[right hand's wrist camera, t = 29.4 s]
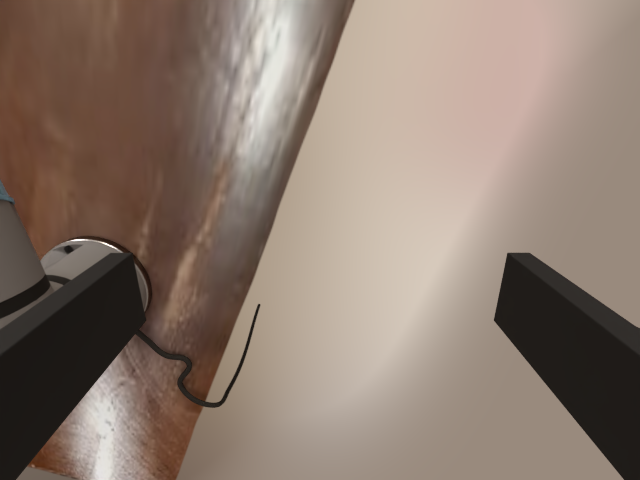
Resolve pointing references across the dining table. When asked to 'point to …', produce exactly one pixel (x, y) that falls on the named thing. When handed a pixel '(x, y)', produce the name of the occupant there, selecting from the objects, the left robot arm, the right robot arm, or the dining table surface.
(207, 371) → the dining table surface
